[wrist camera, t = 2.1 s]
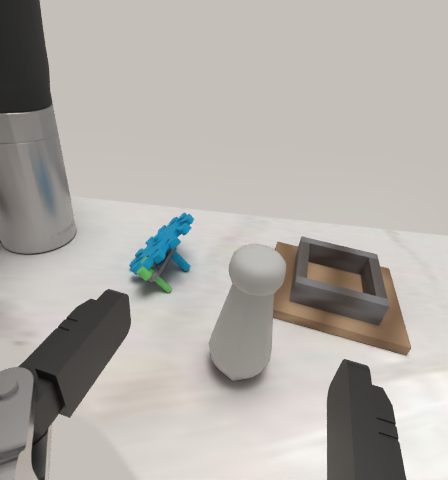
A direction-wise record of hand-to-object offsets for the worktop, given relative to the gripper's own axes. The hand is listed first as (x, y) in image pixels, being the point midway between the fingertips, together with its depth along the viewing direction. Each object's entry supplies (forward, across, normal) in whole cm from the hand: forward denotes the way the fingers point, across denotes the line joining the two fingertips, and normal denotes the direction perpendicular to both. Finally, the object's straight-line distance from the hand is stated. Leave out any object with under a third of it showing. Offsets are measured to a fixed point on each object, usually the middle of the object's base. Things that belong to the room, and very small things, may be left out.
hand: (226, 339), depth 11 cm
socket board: (+26, -9, +17) cm, 32 cm away
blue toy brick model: (+21, +13, +17) cm, 30 cm away
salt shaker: (+12, 0, +17) cm, 21 cm away
